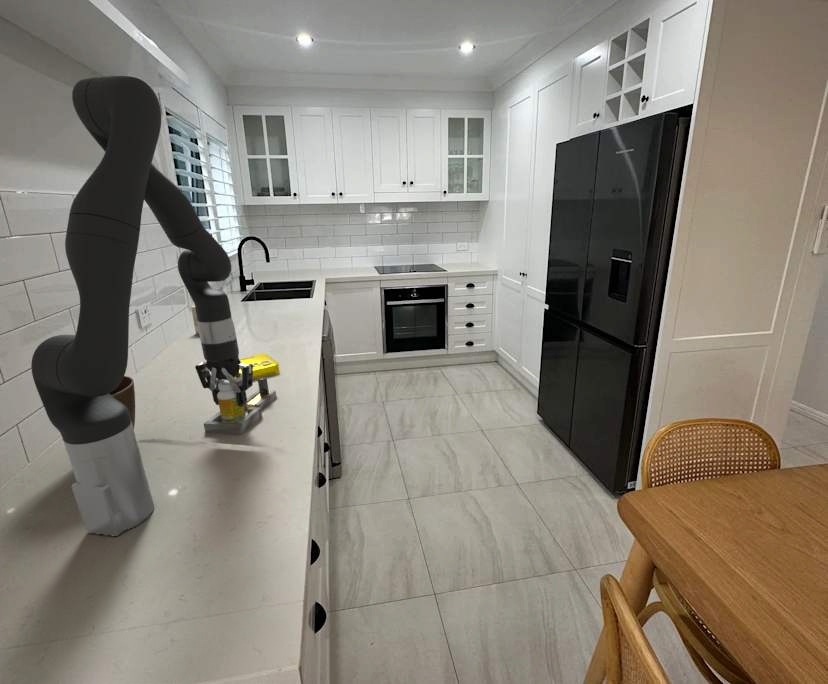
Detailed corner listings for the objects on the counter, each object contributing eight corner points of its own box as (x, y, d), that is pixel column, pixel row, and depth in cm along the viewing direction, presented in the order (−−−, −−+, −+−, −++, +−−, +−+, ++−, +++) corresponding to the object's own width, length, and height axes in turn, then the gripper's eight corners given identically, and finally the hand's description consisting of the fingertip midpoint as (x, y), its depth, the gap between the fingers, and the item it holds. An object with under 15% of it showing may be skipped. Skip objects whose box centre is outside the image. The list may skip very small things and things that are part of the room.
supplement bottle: (237, 425, 101) (230, 387, 98) (217, 423, 102) (209, 386, 99) (250, 414, 106) (243, 378, 103) (230, 413, 107) (224, 377, 104)
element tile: (266, 363, 149) (264, 351, 147) (281, 376, 137) (279, 362, 136) (221, 374, 140) (219, 361, 139) (233, 389, 129) (230, 374, 127)
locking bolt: (255, 410, 111) (252, 389, 109) (247, 409, 112) (243, 389, 110) (271, 396, 119) (268, 377, 117) (263, 396, 119) (260, 377, 118)
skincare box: (195, 333, 188) (189, 306, 184) (202, 330, 192) (197, 304, 188) (207, 334, 186) (202, 307, 183) (214, 331, 190) (209, 304, 186)
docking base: (245, 442, 98) (243, 429, 97) (195, 438, 100) (192, 425, 99) (293, 397, 120) (291, 386, 119) (251, 395, 123) (249, 384, 122)
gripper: (179, 341, 96) (194, 409, 101) (237, 343, 93) (249, 413, 98) (201, 332, 103) (214, 396, 108) (255, 333, 100) (266, 399, 105)
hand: (231, 404), depth 103 cm, fingers closed on supplement bottle, 5 cm apart
